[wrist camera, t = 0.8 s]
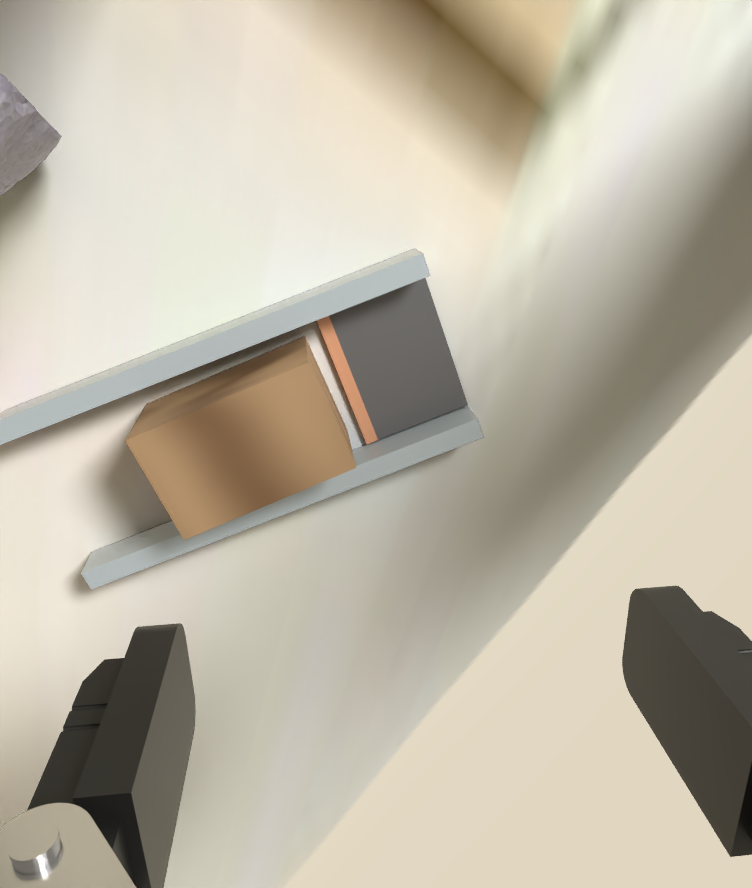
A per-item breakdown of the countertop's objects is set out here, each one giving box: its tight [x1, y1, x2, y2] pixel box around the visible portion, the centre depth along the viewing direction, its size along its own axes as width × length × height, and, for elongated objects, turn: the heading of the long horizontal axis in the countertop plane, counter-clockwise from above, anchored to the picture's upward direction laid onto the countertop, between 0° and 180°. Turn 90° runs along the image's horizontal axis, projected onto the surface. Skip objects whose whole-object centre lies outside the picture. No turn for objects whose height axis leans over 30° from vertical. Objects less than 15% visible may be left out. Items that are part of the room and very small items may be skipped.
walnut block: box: [125, 336, 356, 540], centre depth 31 cm, size 8×5×5 cm, turn 112°
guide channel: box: [0, 249, 483, 590], centre depth 32 cm, size 20×9×2 cm, turn 110°
